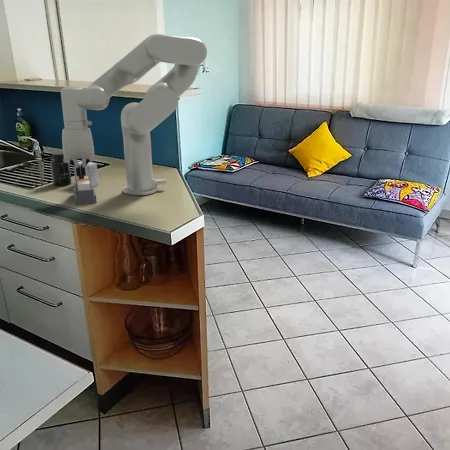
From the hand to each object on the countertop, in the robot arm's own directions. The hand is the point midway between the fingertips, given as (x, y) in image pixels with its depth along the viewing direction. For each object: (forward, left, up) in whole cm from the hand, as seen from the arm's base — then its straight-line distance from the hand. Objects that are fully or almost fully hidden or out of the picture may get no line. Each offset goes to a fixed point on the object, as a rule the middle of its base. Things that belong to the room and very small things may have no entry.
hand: (81, 177), depth 166 cm
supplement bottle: (+7, -19, -7) cm, 21 cm away
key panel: (0, +3, -7) cm, 7 cm away
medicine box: (-2, -14, -7) cm, 16 cm away
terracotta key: (0, 0, -3) cm, 3 cm away
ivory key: (0, +6, -3) cm, 6 cm away
